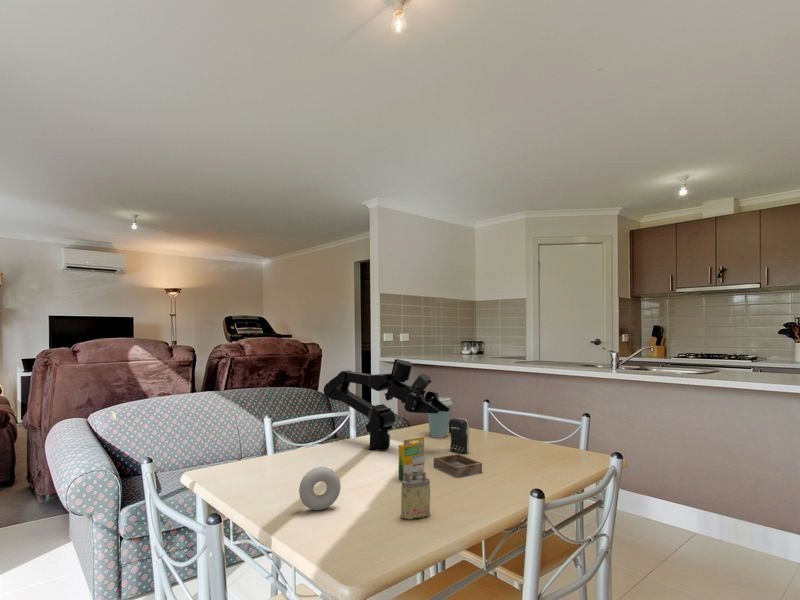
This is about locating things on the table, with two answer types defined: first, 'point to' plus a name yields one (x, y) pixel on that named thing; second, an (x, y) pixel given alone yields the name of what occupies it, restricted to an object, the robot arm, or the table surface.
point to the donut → (328, 496)
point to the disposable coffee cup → (440, 420)
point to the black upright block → (459, 435)
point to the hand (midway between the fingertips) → (443, 411)
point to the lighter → (415, 495)
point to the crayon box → (411, 457)
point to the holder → (457, 465)
